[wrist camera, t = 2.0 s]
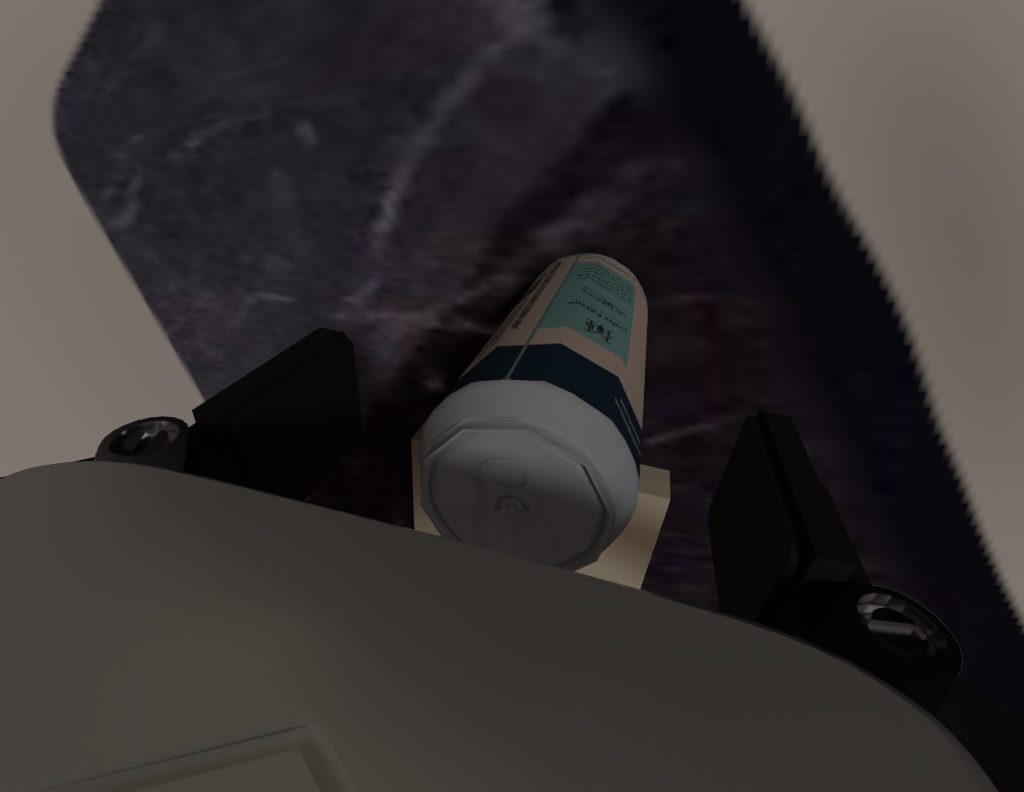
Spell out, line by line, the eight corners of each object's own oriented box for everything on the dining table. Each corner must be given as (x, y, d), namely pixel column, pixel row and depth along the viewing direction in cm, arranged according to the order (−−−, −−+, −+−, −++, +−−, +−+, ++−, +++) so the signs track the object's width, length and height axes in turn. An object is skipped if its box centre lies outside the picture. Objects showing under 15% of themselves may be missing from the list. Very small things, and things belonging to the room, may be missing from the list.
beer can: (537, 364, 21) (428, 583, 11) (521, 256, 19) (369, 406, 9) (649, 361, 20) (641, 607, 10) (646, 243, 18) (632, 404, 8)
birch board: (600, 682, 31) (597, 713, 30) (431, 629, 33) (419, 656, 32) (669, 470, 22) (670, 499, 20) (428, 417, 24) (411, 438, 23)
